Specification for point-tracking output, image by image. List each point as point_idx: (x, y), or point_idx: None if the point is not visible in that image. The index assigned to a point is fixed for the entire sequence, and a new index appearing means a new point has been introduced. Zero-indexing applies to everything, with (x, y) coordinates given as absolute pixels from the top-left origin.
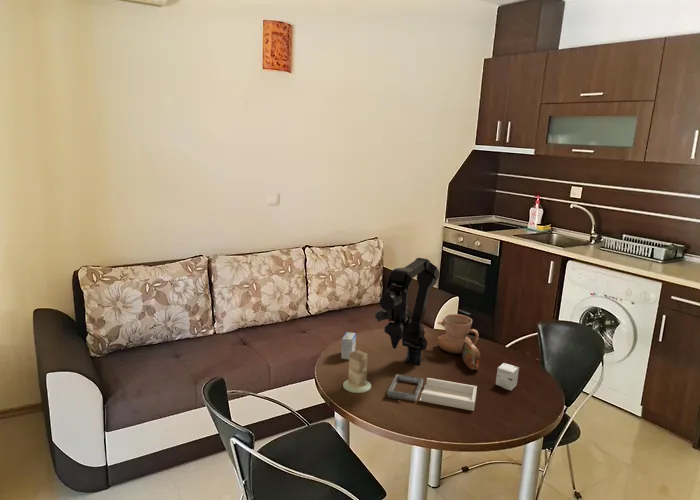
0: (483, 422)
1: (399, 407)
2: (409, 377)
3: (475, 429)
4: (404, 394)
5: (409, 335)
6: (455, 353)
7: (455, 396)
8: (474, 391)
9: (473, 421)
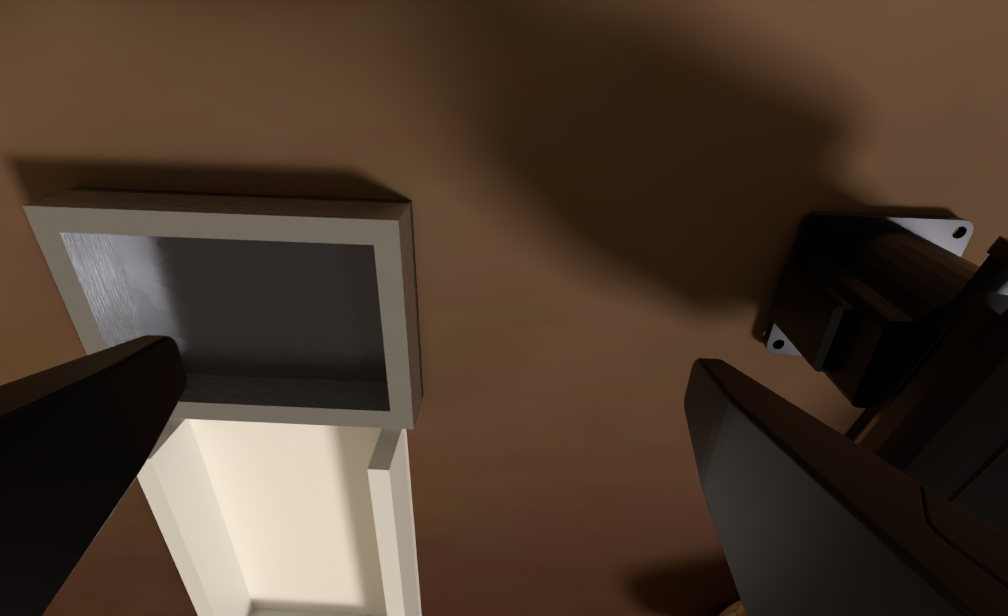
0: None
1: (16, 298)
2: (383, 337)
3: (107, 610)
4: (83, 339)
5: (996, 479)
6: None
7: (340, 557)
8: None
9: (166, 606)
